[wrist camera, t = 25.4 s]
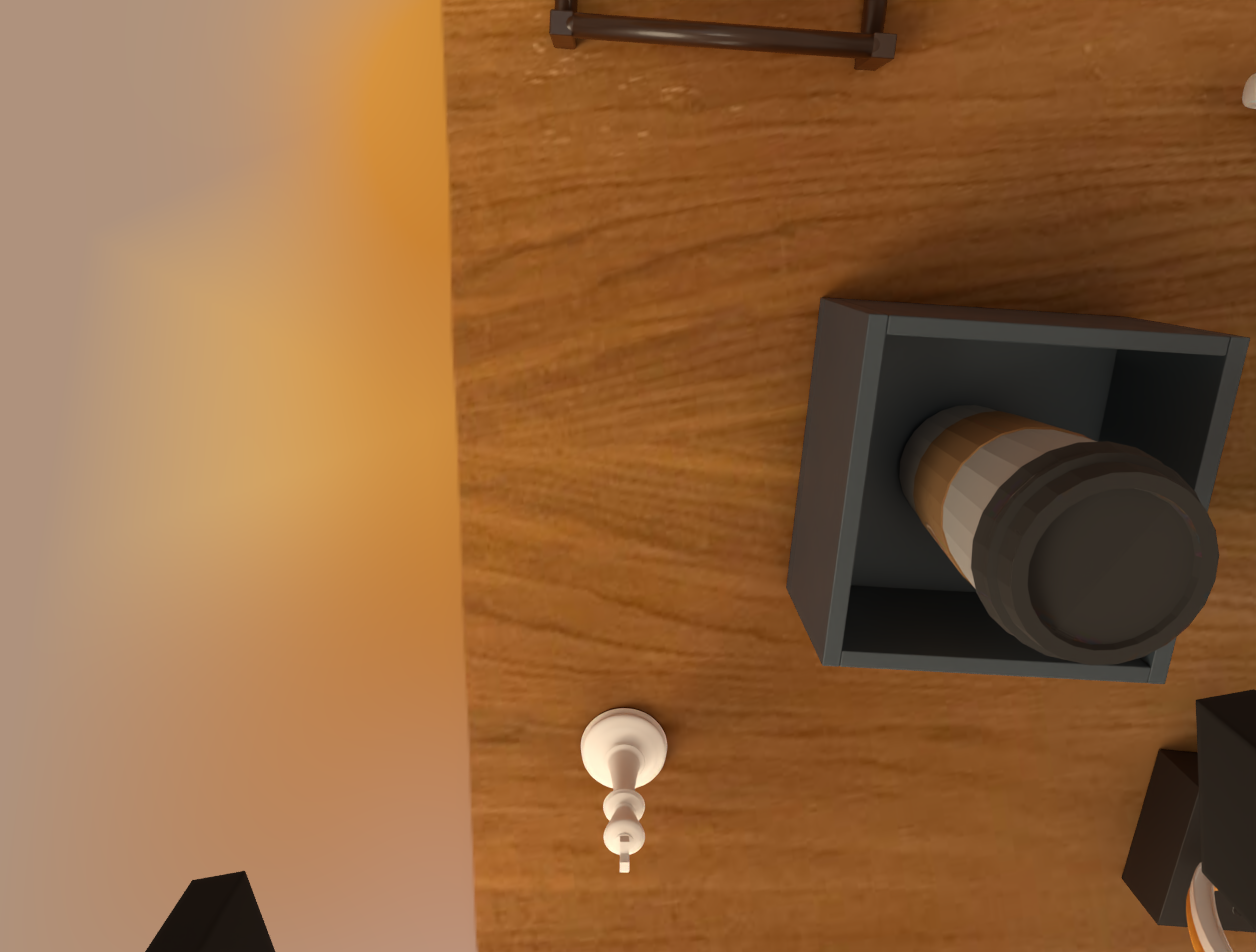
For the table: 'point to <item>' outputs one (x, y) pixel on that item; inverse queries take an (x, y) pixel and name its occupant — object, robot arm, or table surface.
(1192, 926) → the lamp
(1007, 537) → the coffee cup
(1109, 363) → the grey open box
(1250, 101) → the cup
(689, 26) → the rectangular rod frame
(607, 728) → the chess piece
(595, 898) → the table surface
